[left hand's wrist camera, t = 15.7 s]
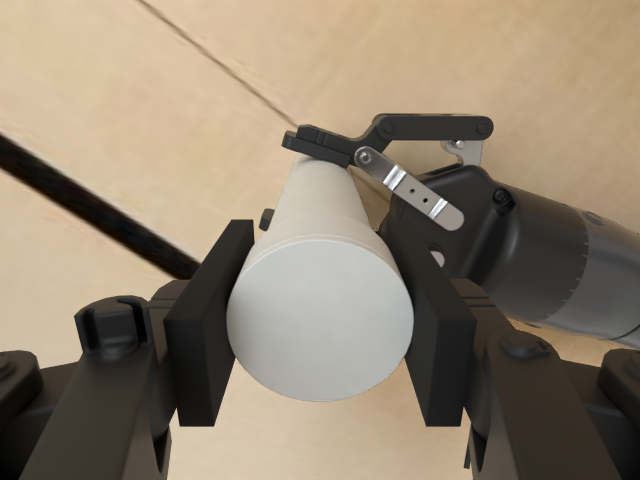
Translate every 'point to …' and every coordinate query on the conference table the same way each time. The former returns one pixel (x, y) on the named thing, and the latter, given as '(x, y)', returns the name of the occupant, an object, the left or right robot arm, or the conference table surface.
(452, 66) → the conference table surface
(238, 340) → the lid
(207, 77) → the conference table surface
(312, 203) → the bottle
